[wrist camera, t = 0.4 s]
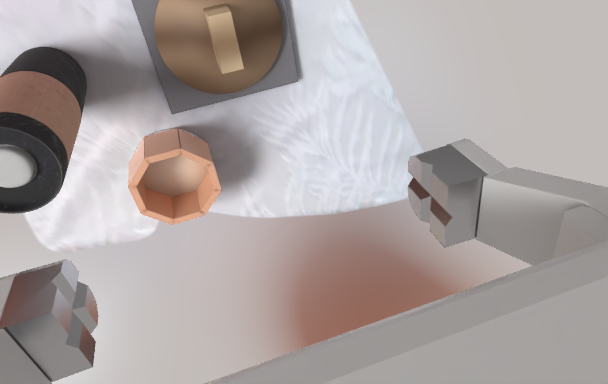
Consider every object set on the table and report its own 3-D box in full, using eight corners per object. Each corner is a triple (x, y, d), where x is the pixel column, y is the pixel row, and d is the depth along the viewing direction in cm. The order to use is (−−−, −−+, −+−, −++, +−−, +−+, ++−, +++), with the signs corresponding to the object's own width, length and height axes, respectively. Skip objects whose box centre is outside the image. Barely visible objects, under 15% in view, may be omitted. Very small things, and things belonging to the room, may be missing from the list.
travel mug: (86, 47, 47) (59, 126, 32) (92, 114, 51) (70, 214, 35) (3, 40, 45) (-73, 122, 29) (15, 110, 49) (-46, 217, 33)
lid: (134, -22, 44) (133, -14, 41) (267, -50, 47) (278, -45, 43) (177, 104, 53) (180, 121, 49) (289, 75, 55) (300, 89, 51)
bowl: (120, 141, 54) (118, 165, 49) (200, 119, 55) (206, 141, 51) (148, 204, 60) (149, 231, 55) (220, 183, 61) (227, 208, 57)
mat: (120, -32, 44) (120, -31, 44) (273, -64, 47) (275, -63, 46) (171, 111, 54) (172, 114, 53) (296, 79, 56) (298, 81, 56)
